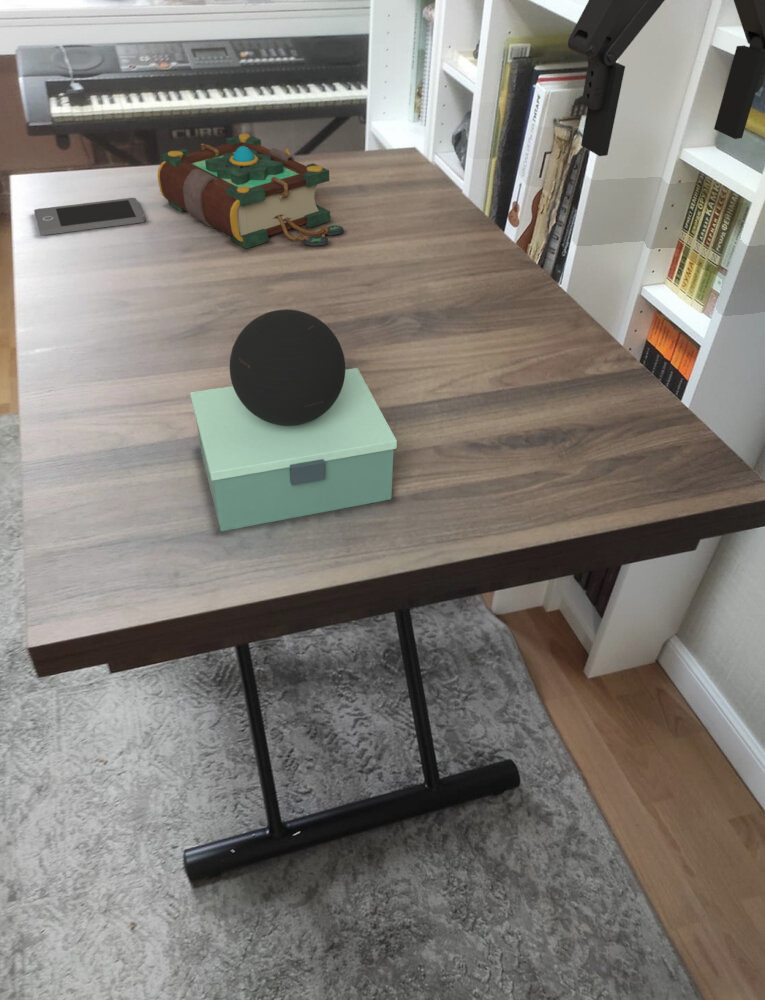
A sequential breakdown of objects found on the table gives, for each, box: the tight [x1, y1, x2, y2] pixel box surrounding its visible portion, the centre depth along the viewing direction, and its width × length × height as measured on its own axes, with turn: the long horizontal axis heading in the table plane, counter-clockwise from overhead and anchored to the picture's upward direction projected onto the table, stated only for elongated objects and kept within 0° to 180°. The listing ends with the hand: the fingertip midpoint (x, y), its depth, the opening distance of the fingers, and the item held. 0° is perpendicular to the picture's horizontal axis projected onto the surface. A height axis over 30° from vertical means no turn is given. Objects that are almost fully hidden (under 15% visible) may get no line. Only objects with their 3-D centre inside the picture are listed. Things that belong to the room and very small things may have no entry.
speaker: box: [229, 308, 346, 426], centre depth 73 cm, size 10×10×10 cm
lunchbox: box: [189, 367, 398, 532], centre depth 78 cm, size 16×13×7 cm
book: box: [157, 133, 344, 249], centre depth 123 cm, size 27×21×10 cm
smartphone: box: [33, 197, 146, 236], centre depth 124 cm, size 15×8×1 cm, turn 113°
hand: (662, 142), depth 70 cm, fingers open, 13 cm apart
